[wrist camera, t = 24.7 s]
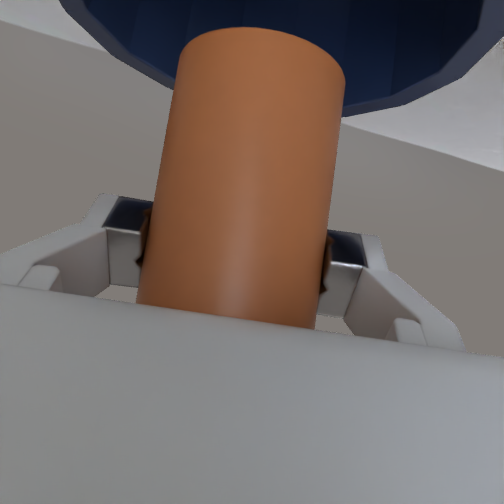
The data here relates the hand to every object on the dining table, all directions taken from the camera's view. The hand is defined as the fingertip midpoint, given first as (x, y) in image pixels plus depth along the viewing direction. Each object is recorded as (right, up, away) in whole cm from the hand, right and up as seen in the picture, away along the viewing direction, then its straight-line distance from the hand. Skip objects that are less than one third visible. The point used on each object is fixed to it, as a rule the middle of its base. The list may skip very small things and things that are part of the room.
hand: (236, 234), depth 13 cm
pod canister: (+1, +4, 0) cm, 4 cm away
